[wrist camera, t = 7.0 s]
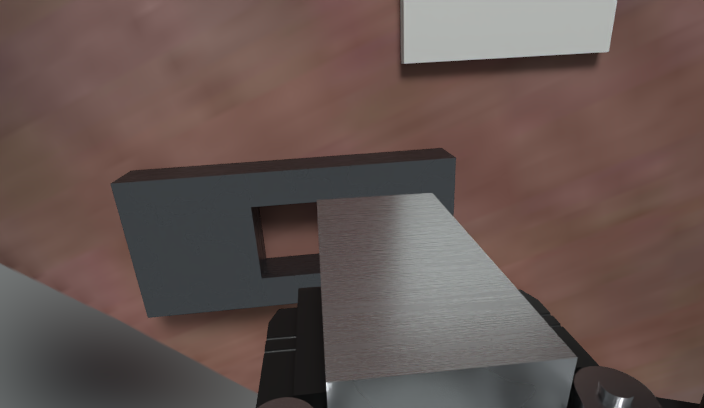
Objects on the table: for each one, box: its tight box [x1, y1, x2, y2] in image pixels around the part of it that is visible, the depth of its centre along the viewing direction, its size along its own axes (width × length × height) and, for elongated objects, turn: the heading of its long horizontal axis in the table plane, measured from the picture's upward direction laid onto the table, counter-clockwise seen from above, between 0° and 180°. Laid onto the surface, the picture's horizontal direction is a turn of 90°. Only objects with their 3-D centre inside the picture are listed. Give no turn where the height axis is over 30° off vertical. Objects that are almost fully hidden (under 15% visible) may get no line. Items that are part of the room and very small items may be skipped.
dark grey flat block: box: [111, 148, 456, 318], centre depth 29 cm, size 22×10×3 cm, turn 93°
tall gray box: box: [317, 193, 578, 408], centre depth 11 cm, size 4×4×8 cm
